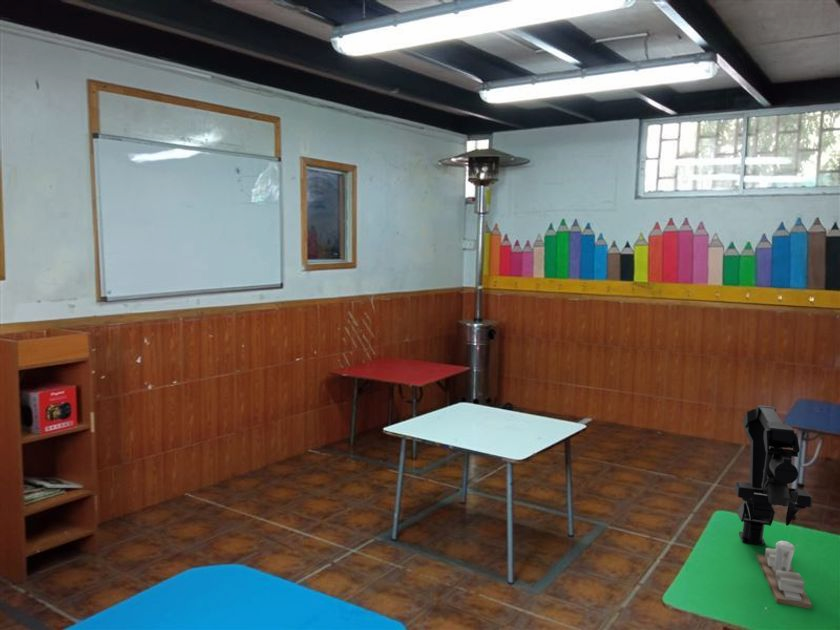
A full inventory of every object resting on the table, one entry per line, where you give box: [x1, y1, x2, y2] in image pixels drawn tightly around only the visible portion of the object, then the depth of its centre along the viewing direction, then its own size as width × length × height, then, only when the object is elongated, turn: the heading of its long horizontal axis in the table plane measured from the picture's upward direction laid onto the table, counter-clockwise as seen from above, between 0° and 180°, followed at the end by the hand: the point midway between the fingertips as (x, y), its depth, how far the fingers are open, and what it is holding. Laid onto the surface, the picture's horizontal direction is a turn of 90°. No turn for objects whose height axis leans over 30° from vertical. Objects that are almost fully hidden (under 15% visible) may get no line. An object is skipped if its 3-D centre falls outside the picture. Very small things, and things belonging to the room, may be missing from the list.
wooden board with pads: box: [756, 547, 812, 609], centre depth 184 cm, size 24×8×5 cm, turn 165°
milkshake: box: [775, 540, 799, 573], centre depth 183 cm, size 4×5×10 cm
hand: (768, 522), depth 191 cm, fingers open, 9 cm apart
